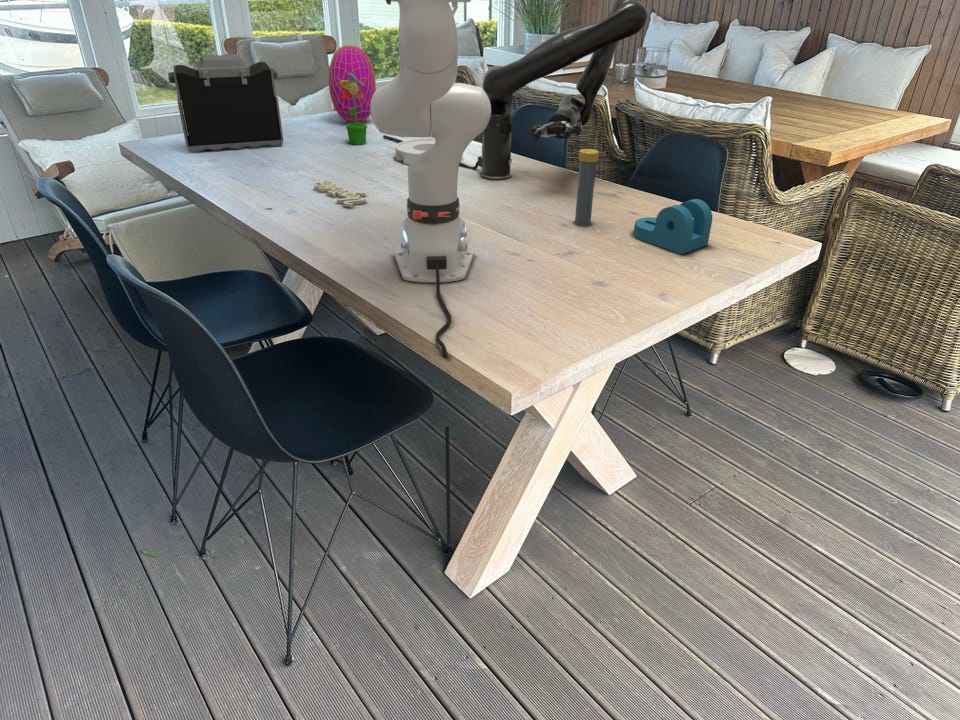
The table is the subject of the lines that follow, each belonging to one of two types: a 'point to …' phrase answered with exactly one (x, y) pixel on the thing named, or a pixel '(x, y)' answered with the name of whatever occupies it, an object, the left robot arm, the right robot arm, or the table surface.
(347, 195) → the decorative sign
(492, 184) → the table surface
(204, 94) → the electronic device
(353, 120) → the decorative egg
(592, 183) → the grey long cylinder
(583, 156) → the lid
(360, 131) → the potted flower
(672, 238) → the camera mount
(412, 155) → the ashtray
